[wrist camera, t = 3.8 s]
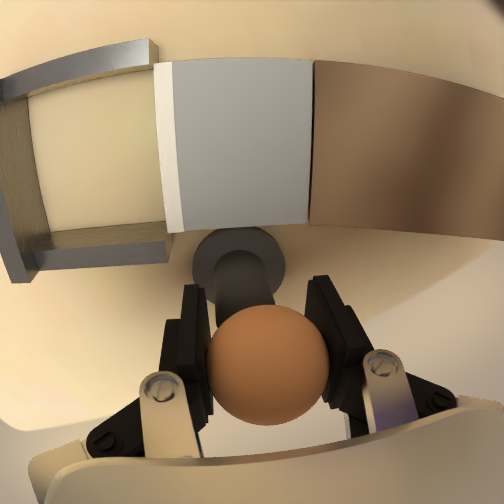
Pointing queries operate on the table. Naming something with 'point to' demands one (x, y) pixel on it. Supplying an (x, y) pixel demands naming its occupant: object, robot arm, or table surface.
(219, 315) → the dark grey knob
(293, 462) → the robot arm
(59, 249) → the grey u-shaped bracket
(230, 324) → the ball
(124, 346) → the table surface
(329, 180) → the ramp
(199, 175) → the grey block
